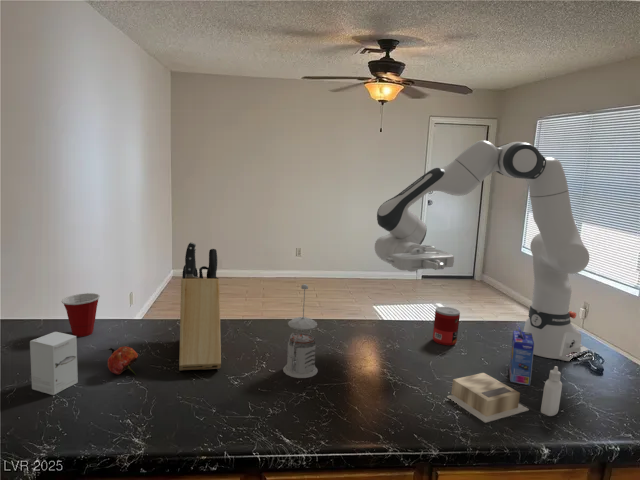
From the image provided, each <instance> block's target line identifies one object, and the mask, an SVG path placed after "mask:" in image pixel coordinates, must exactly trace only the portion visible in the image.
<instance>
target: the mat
mask: <svg viewBox="0 0 640 480" xmlns="http://www.w3.org/2000/svg"><path fill="white" fill-rule="evenodd" d="M447 398H448V399H449V400H450V399H451V401H452V402H453V401H454V403H455V404H456V403H457V405H458V406H460V407H461V408H462V409H464V410H466V411H467V412H468V413H470V414H471V415H473V416H474V417H476V418H478V419H479V420H480V421H482V422H483V423H485V424H486V423H489V422H493V421H497V420H500V419H504V418H508V417H510V416H514V415H518V414H521V413H524V412H528V411H529V410H530V409H529V408H528V407H526V406H524V405H522V404H521V403H519V404H518V408H515V409H511V410H508V411H504V412H501V413H497V414H493V415H490V416H485V415H483V414H482V413H480V412H479V411H477V410H476V409H474V408H473V407H471V406H469V405H468V404H466V403H465V402H463V401H462V400H460V399H459V398H457V397H456V396H454V395H453V394H451V395H447Z"/></svg>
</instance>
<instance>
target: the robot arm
mask: <svg viewBox="0 0 640 480" xmlns="http://www.w3.org/2000/svg"><path fill="white" fill-rule="evenodd" d="M495 172H496V173H498V174H499V175H502V176H505V177H508V178H512V179H524V180H525V181H526V182H527V186H528V191H529V199H530V204H531V210H532V211H531V212H532V217H533V221H534V223H535V224H536V226H537V230H538V231H539V233H537V234H536V235H535V236H534V237H533V238H532V239H531V241H530V252H531V255H532V265H533V289H532V290H533V291H532V298H531V305H529V309H528V318H527V319H526V320H525V323H524V328H523V331H522V332H527V333H532V337H533V341H534V352H533V356H534V355H535V356H537V357H541V358H548V359H555V360H561V361H566V362H570V360H571V359H572V358H573V356H572V355H569V357H567V356H565V355H568V354H569V353H570V352H573V351H574V352H583V351H588V352H589V348H587V346H584V344H582V333H581V332H580V330H578V329H577V328H576V326H574V325H573V324H572V323H571V319H576V317H577V313H576V312H574V311H572V310H571V311H569V310H570V304H571V303H570V302H571V296H572V286H571V283H570V279H569V275H571V274H579V273H581V272H582V271H583V270H585V269H586V267H587V266H588V264H589V262H590V252H589V251H588V248H587V247H586V246H585V244H584V242H583V240H582V238H581V235H580V232H579V229H578V227H577V224H576V222H575V219H574V215H573V211H572V205H571V199H570V193H569V186H568V181H567V180H568V179H567V176H566V173H565V170H564V167H563V165H562V163H561V161H560V160H558V159H557V158H554V157H552V156H550V157H548V156H547V157H545V156H544V155H543V154H542V153H541V152H540V151H539V149H538V148H537V147H535V145H533V144H531V143H529V142H525V141H524V142H522V141H512V142H509V143H504V144H501V145H498V146H495V144H493V143H492V142H490V141H488V140H484V139H482V140H481V139H480V140H478V141H475V142H474V143H472V144H471V145H470V146H468V147H467V148H466V149H465V150H464V151H462V152H461V153H460V154H459V155H458V156H457V157H455V159H454V160H453V161H451V162H450V163H449V164H446V165H445V166H443V167H435V168H432V169H430V170H428V171H427V172H426V173H424V174H422V176H420V177H419V178H417V179H416V180H415V181H413V182H412V183H411V184H409V185H408V186H407V187H406V188H405V189H402V190H401V191H400V192H399V193H398V194H396V195H395V196H393V197H392V198H389V199H388V200H386V201H384V202H383V203H382V204H381V205H380V206H379V208H378V209H377V212H376V220H377V225H379V227H381V228H382V229H384V230H385V231H387V232H388V234H387V235H383V236H382V235H381V236H380V237H378V238H377V239H376V240H375V243H374V252H375V255H376V256H377V257H378V258H379V259H380V260H381V261H383V262H385V263H387V264H389V265H391V266H392V267H394V268H396V269H398V270H399V271H408V272H411V273H412V272H416V271H418V270H427V269H428V270H435V271H438V270H444V269H446V268H452V267H454V262H455V256H454V255H453V254H451V253H449V252H447V251H443V250H442V249H436V247H435V246H433V245H426V244H425V245H424V244H423V243H424V240H425V237H427V225H426V224H425V222H424V221H423V220H421V219H420V218H419V217H418V216H417V215H416V214H414V212H412V211H411V210H410V209H409V208H410V207H411V206H412V205H414V204H415V203H417V201H419V200H420V199H421V198H422V197H424V196H425V195H427V194H429V193H431V192H442V193H445V194H447V195H451V196H457V197H460V196H462V197H463V196H467V195H468V194H470V193H472V192H473V191H474V190H475V189H476V188H477V187H478V186H479V185H481V183H482V182H483V181H484V180H485V179H486V178H487V177H488V176H490V175H491V174H493V173H495ZM570 356H571V357H570ZM571 361H572V360H571Z"/></svg>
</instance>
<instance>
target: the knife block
mask: <svg viewBox="0 0 640 480" xmlns="http://www.w3.org/2000/svg"><path fill="white" fill-rule="evenodd" d="M196 246H197V245H196V243H195V242H191V241H190V242H189V243H188V245H187V248H186V251H185V256H184V258H185V259H184V263H185V264H184V266H183V269H182V273H181V275H182V278H181V281H180V310H179V311H180V316H179V318H180V319H179V357H178V358H179V360H178V364H179V365H178V366H179V367H178V370H179V371H191V370H193V371H194V370H195V371H196V370H216V369H217V370H218V369H221V365H222V357H221V356H222V353H221V352H222V347H221V338H222V337H221V303H220V302H221V297H220V296H221V295H220V292H221V291H220V278H219V277H217V271H218V254H217V253H218V252H217V249H215V248H210V249H209V250H208V266H205V265H204V266H201V267H200V268H198V269H197V267H196V265H197V263H196V262H197V260H196V250H197V249H196ZM203 270H207V271H206V278H204V276H203V275H204V274H203Z"/></svg>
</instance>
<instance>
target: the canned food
mask: <svg viewBox="0 0 640 480" xmlns="http://www.w3.org/2000/svg"><path fill="white" fill-rule="evenodd" d="M460 314H461V312H460V310H458V309H456V308H454V307H449V306H439V307H438V306H437V307H436V308H435V312H434V321H433V331H432V341H434V343H436V344H439V345H443V346H454V345H456V344H457V342H458V335H459V334H458V333H459V325H460V324H459V323H460V316H461V315H460Z"/></svg>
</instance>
